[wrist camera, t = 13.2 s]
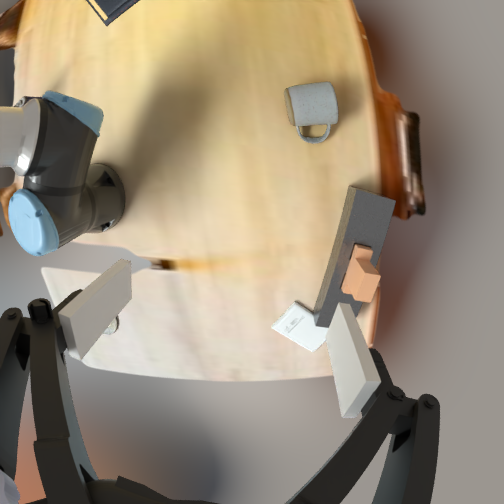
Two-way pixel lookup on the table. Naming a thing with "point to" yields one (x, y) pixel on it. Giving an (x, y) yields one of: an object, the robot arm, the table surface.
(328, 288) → the rail
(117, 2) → the dark gray flat slab
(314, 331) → the external hard drive
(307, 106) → the ceramic mug
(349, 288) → the tan wooden block
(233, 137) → the table surface
